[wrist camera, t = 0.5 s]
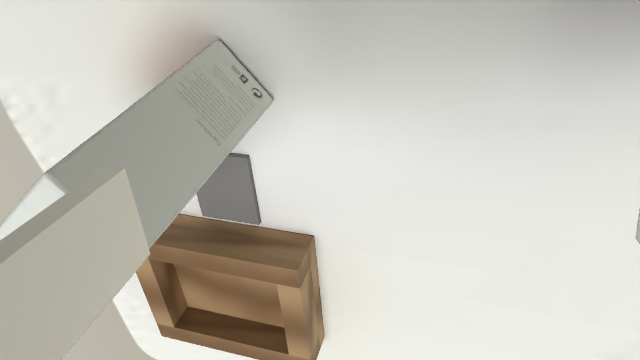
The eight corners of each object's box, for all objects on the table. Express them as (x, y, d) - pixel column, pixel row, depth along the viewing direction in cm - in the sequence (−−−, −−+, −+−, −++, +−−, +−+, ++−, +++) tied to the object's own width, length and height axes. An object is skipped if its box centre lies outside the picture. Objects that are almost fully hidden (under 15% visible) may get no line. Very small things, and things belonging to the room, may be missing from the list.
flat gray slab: (187, 148, 30) (185, 150, 29) (248, 155, 29) (246, 158, 28) (204, 212, 33) (202, 215, 32) (260, 221, 32) (259, 224, 31)
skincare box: (218, 34, 25) (43, 169, 15) (276, 99, 26) (145, 260, 17) (156, 97, 28) (-16, 237, 19) (210, 151, 29) (72, 308, 20)
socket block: (148, 209, 34) (122, 238, 32) (313, 236, 31) (297, 270, 29) (182, 305, 40) (161, 336, 38) (324, 337, 37) (311, 372, 34)
